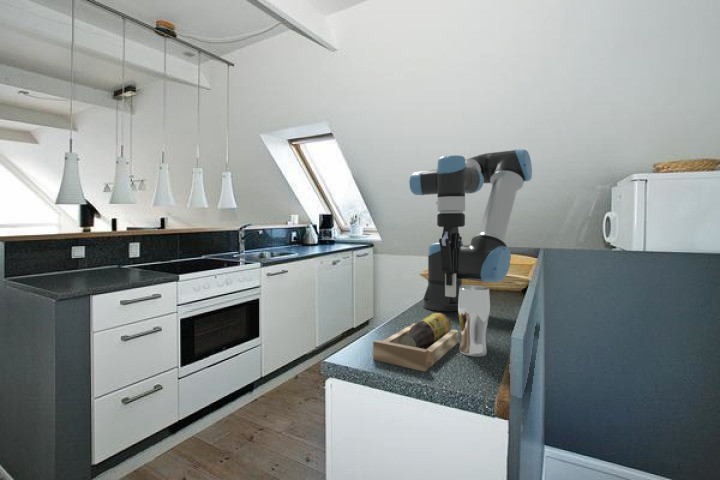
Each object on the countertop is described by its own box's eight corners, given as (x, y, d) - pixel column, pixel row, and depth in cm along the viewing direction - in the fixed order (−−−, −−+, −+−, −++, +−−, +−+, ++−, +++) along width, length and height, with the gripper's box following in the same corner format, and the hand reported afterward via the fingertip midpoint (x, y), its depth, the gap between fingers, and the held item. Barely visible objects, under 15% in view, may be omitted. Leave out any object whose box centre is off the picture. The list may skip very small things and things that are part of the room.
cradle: (413, 334, 99) (413, 319, 99) (458, 342, 93) (458, 326, 92) (373, 359, 81) (373, 341, 81) (425, 371, 74) (425, 351, 74)
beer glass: (485, 359, 81) (486, 291, 80) (453, 354, 84) (454, 288, 84) (491, 350, 87) (492, 286, 86) (461, 345, 90) (462, 284, 90)
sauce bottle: (454, 333, 97) (425, 360, 80) (432, 335, 100) (400, 363, 83) (448, 308, 97) (417, 330, 80) (426, 311, 100) (392, 334, 84)
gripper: (445, 212, 111) (445, 290, 113) (429, 212, 100) (429, 299, 102) (470, 212, 107) (470, 293, 109) (457, 212, 96) (456, 302, 98)
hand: (450, 296), depth 105 cm, fingers closed
